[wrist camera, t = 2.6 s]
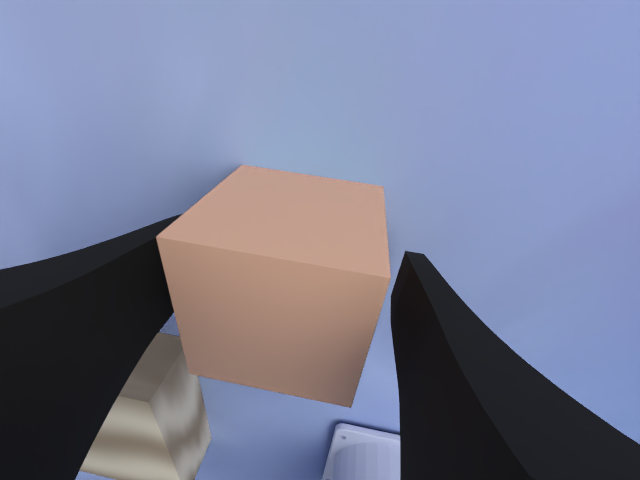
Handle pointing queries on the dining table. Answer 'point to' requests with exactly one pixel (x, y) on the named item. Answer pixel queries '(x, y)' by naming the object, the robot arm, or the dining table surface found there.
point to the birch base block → (154, 421)
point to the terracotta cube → (280, 281)
